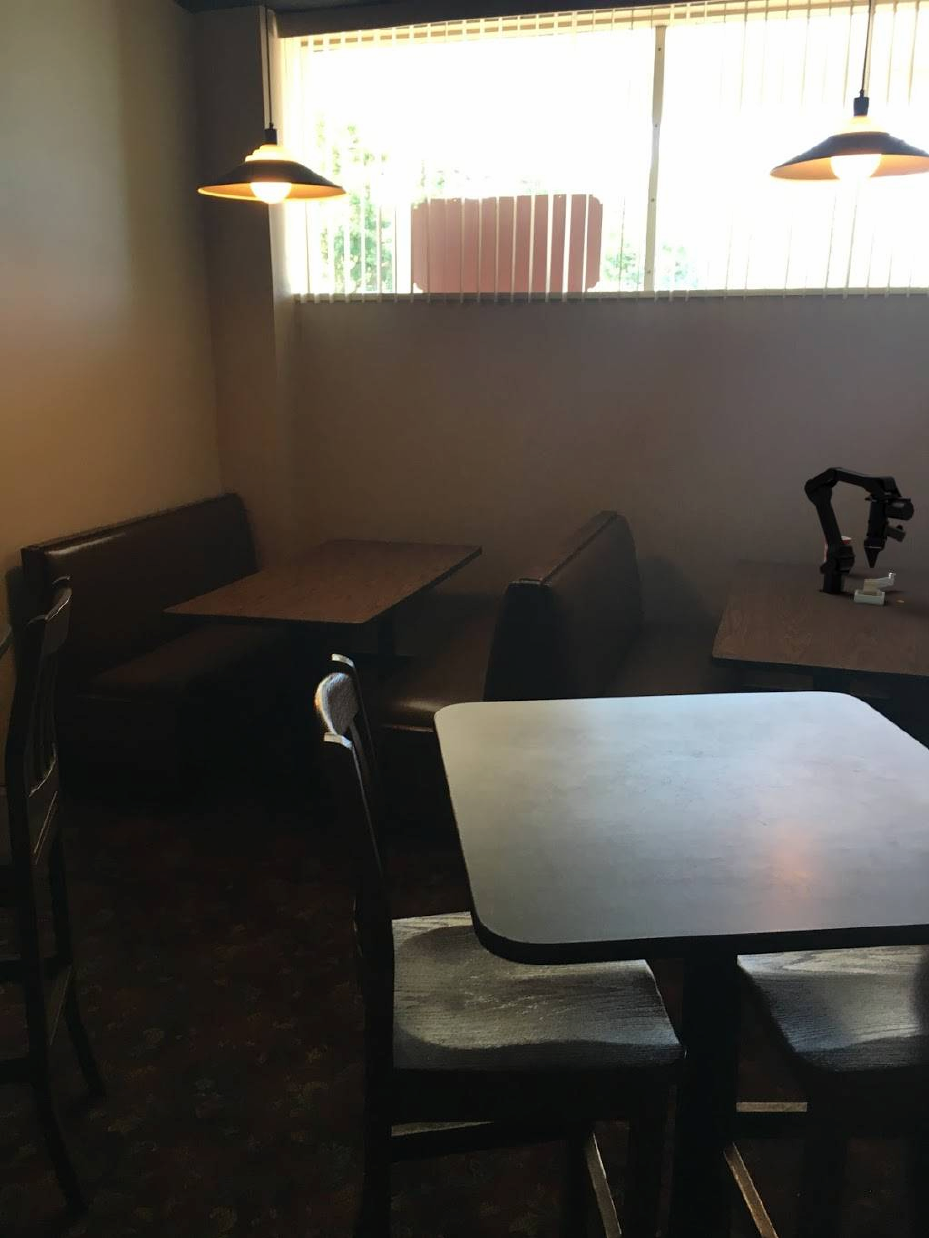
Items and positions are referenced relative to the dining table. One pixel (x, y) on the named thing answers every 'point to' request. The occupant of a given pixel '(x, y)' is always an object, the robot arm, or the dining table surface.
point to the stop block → (870, 587)
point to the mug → (845, 540)
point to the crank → (886, 580)
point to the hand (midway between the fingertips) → (872, 565)
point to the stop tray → (869, 598)
